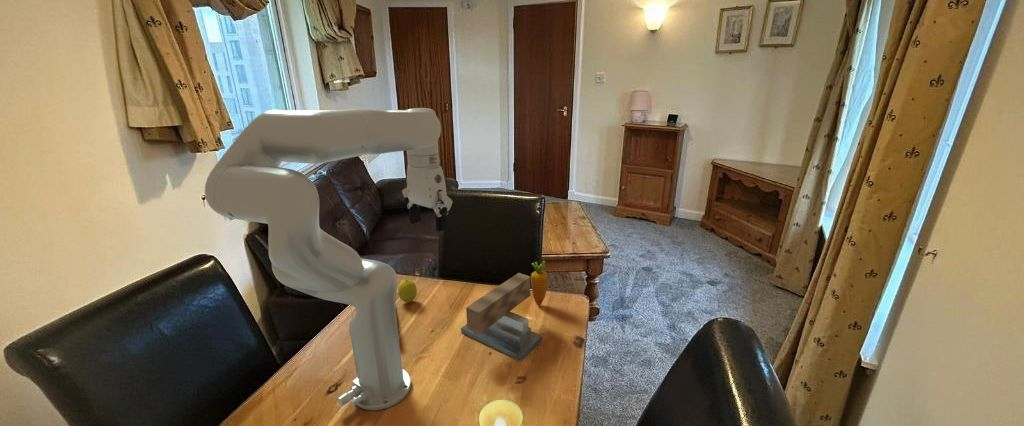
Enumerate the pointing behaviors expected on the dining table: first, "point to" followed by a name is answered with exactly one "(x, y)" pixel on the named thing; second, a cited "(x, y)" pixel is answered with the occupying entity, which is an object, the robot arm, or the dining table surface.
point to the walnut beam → (497, 303)
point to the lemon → (407, 291)
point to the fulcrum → (508, 336)
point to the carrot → (539, 283)
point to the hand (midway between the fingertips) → (428, 226)
